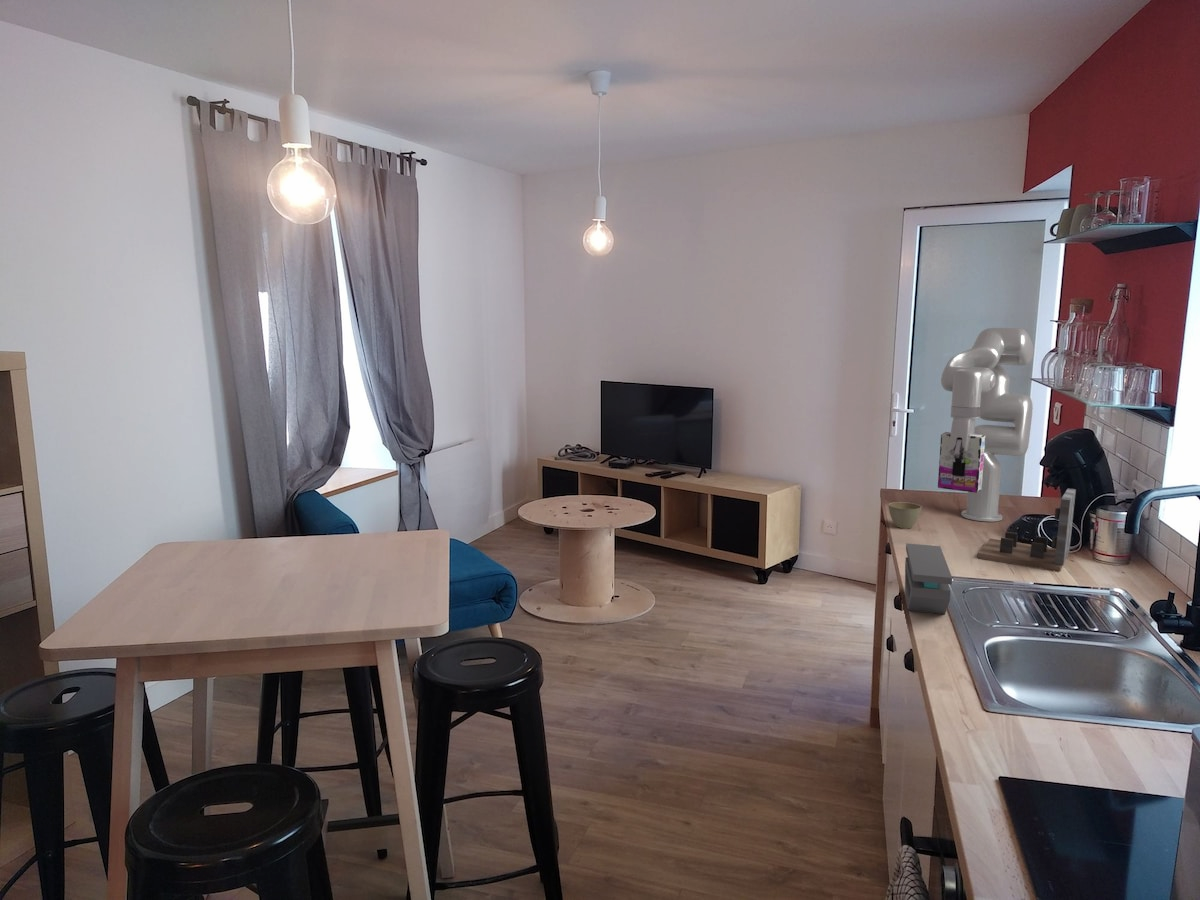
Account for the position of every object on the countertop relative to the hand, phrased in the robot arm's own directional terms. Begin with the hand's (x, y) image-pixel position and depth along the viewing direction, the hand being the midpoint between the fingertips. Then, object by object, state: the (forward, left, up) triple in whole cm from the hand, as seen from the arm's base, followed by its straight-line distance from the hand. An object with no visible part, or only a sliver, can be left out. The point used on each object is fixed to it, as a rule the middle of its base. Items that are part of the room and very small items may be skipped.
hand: (960, 473), depth 223 cm
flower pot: (-13, -18, -22) cm, 31 cm away
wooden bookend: (0, +18, -22) cm, 28 cm away
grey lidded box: (+55, +5, -22) cm, 60 cm away
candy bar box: (0, 0, -5) cm, 5 cm away
